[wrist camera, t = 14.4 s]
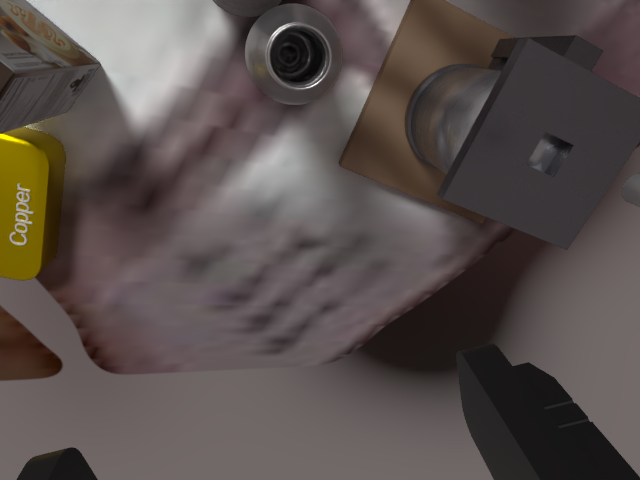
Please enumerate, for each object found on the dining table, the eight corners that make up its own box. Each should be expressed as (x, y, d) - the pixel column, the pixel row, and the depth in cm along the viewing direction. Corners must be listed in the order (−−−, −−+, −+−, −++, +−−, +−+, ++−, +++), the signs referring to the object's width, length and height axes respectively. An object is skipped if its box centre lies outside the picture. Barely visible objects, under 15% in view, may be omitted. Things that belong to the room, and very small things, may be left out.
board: (415, -11, 42) (420, -13, 41) (564, 68, 47) (573, 69, 45) (338, 163, 48) (340, 166, 47) (477, 219, 53) (482, 223, 51)
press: (445, 20, 42) (548, 2, 27) (537, 68, 45) (681, 78, 29) (384, 148, 47) (442, 198, 31) (472, 185, 49) (567, 250, 33)
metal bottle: (320, 90, 45) (354, 119, 27) (252, 86, 44) (239, 113, 26) (325, 20, 43) (365, -2, 24) (253, 14, 42) (239, -13, 24)
